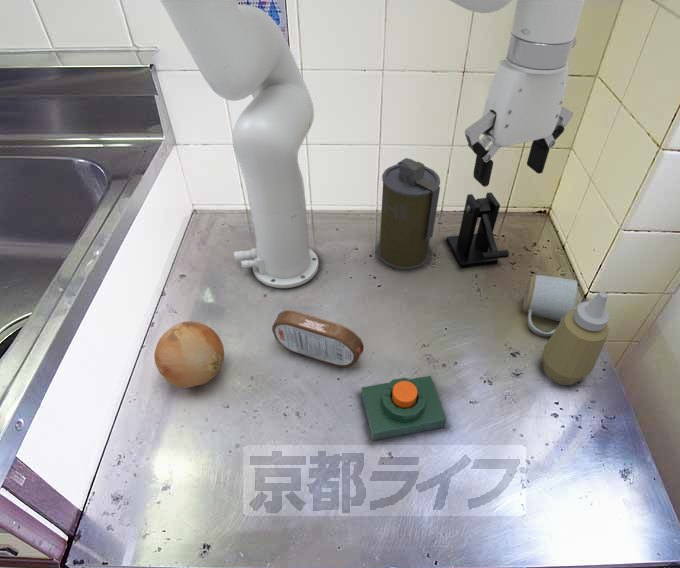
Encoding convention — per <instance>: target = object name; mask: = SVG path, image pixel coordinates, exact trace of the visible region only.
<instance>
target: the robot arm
mask: <svg viewBox="0 0 680 568" xmlns="http://www.w3.org/2000/svg"><path fill="white" fill-rule="evenodd" d="M449 1H450V2H452V3H453V4H455V5H457V6H459V7H461V8H463V9H465V10H467V11H471V12H474V13H480V14H490V13H494V12H498V11H499V10H501V9H503V8H505V7H506V6H508V5H509V4H511V2H512V1H513V0H449ZM585 2H586V0H517V1H516V6H515V10H514V14H513V15H514V16H513V20H512V26H511V31H510V35H509V40H508V44H507V50H506V55H505V59H501V60H500V61H499V62H498V65H497V67H496V69H495V72H494V74H493V77H492V80H491V83H490V86H489V89H488V93H487V96H486V101H485V103H484V108H483V112H482V116H481V118H479V119H478V120H477V121H475V122H474V123H472V124H471V125H469V126H468V127H467V128H465V130H464V135H465V138H466V139H465V140H466V141H467V146H468V147H469V149H471V151H472V152H473V153H474V154H475V155H476V157H475V163H474V168H473V178H474V179H475V180H476V182H478V183H479V184H480V186H482V187H483V188H484V187H485V188H486V187H488V186H489V185H490V182H491V177H492V173H493V167H494V161H493V160H492V159H493V157H494V156H495V155H496V153H497V152H498V151H499V150H500V149H501V148H504V147H510V146H515V145H519V144H523V143H530V142H531V145H530V150H529V153H528V157H527V160H526V165H527V167H528V168H530V169H531V170H533V171H534V172H535V173H536V174H538V175H539V174H543V172H544V169H545V166H546V162H547V159H548V156H549V152H550V149H551V148H553V147H555V145H556V140H557V139H558V138H559V137H561V135H562V134H563V133H564V132H565V127H567V125H568V124H569V122H570V120H571V119H572V117H574V116H573V115H574V112H573V111H571V110H569V109H568V108H566V107H565V106H563V103H564V100H565V94H566V89H567V84H568V76H569V68H570V67H569V65H570V64H569V62H568V61H569V58H570V54H571V50H572V49H573V48H575V46H576V45H577V37H576V33H577V29H578V26H579V22H580V20H581V19H580V18H581V16H582V13H583V9H584V6H585ZM160 3H161V4H162V5H163V7H164V9H165V11H166V13H167V15H168V17H169V18H170V20H171V22H172V24H173V26H174V28H175V30H176V31H177V33H178V35H179V37H180V38H181V40H182V41H183V43H184V45H185V48H186V49H187V50H188V52H189V54H190V56H191V58H192V60H193V61H194V63H195V65H196V66H197V68H198V70H199V72H200V74H201V75H202V77H203V79H204V80H205V81H206V83H207V85H208V86H209V87H210V89H211V90H212V91H213V92H214V93H215V94H216V95H217V96H219V97H221V98H222V99H225V100H227V101H232V102H234V101H241V100H244V99H247V98H248V97H249V96H252V98H253V99H252V100H251V101H250V102H249V103H248V105H247V106H246V107H245V108H244V110H243V111H242V112H241V114H240V115H239V117H238V118H237V120H236V121H235V124H234V127H233V129H232V130H233V131H232V137H231V138H232V140H231V142H232V147H233V152H234V155H235V157H236V158H235V159H236V160H237V163H238V165H239V168H240V170H241V173H242V176H243V177H242V178H243V180H244V185H245V190H246V194H247V200H248V205H249V209H250V210H249V211H250V215H251V221H252V227H253V231H254V236H255V247H251V248H250V250H237V251H233V258H234V262H235V263H236V262H240V264H241V268H242V269H248V268H252V270H253V271H252V272H253V274H254V276H255V278H256V279H257V280H258V281H259V282H261V283H262V284H263V285H266V286H269V287H271V288H275V289H290V288H295V287H299V286H302V285H304V284H307V282H310V280H312V279H313V278H314V277H315V276H316V274H317V272H318V271H319V258H318V254H316V252H315V251H314V250H313V249H312V248H310V239H309V228H308V218H307V217H308V216H307V204H306V193H305V183H304V178H303V173H302V170H301V167H300V164H299V151H300V149H301V146H302V144H304V143H303V142H304V141H305V138H306V137H307V135H308V134H309V132H310V129H311V128H312V126H313V123H314V118H315V109H314V104H313V103H314V102H313V100H312V97H311V94H310V92H309V89H308V87H307V85H306V81H305V80H304V78H303V75H302V73H301V71H300V69H299V66H298V64H297V61H296V60H295V57H294V55H293V52H292V50H291V48H290V45H289V44H288V41H287V39H286V37H285V35H284V32H283V31H282V29H281V28H280V26H279V25H278V24H277V22H276V21H275V20H274V19H273V17H271V16H270V14H268V13H267V12H266V11H264V10H263V9H261V8H259V7H257V6H254V5H251V4H240V5H238V4H237V2H236V0H160ZM481 135H483V137H481V139H480V136H481ZM490 143H491V144H490ZM489 144H490V146H488V145H489ZM487 147H488V148H487ZM486 148H487V149H486Z"/></svg>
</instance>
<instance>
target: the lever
mask: <svg viewBox="0 0 680 568" xmlns="http://www.w3.org/2000/svg"><path fill="white" fill-rule="evenodd" d="M475 199H476V201H477V203H478V204H479V206H480V211H479V215H478V218H480V219H481V221H482V224H483V228H484V231H485V235H486V239H487V242H488V246H489V250H490V252H482V253H481V259H482V260H490V259H498V260H499V259H506V258H509V256H510V252H509V250H508V249H501V250H498V247H497V243H496V239H495V236H494V231H493V232H492V228H491V225H490V221H489V218H488V214H489V213H490V211H491V209H490V205H489V202H488V198H486V197H479V198H475Z"/></svg>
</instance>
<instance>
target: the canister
mask: <svg viewBox="0 0 680 568" xmlns="http://www.w3.org/2000/svg"><path fill="white" fill-rule="evenodd" d="M381 180H382V192H381V193H382V196H381V212H380V213H381V214H380V229H379V230H380V231H379V232H380V233H379V234H380V235H379V246H378V249H377V252H378V257H379V259H380V260H381V261H382V262H383V264H385V265H388V266H389V267H391V268H394V269H398V270H414V269H417V268H420V267H422V266H423V265H424V264H425V263H426V262H427V261H428V259H429V255H430V254H429V247H430V241H431V238H433V235H434V228H435V224H436V217H437V210H438V204H439V197H440V190H441V187H440V185H441V178H440V175H438V173H437V172H436V171H435V170H434V169H432V168H430V167H428V166H426V165H425V164H424V163H422V162H420V161H416V160H415V159H412V158H408V157H405V158H403V159H401V160H400V161H399V162H397V163H396V164H394V165H391V166H389V167H388V168H386V169H385V170H384V172H383V173H382V175H381Z"/></svg>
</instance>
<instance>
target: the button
mask: <svg viewBox="0 0 680 568" xmlns="http://www.w3.org/2000/svg"><path fill="white" fill-rule="evenodd" d="M416 398H417V388H416V386H415V385H414V384H413V383H411V382H408V381H400V382H398V383H396V384H395V385H394V387H393V392H392V400H393V402H394V404H395V405H397V406H398V407H401V408H409V407H411V406H413V405H414V404H415V402H416Z"/></svg>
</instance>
